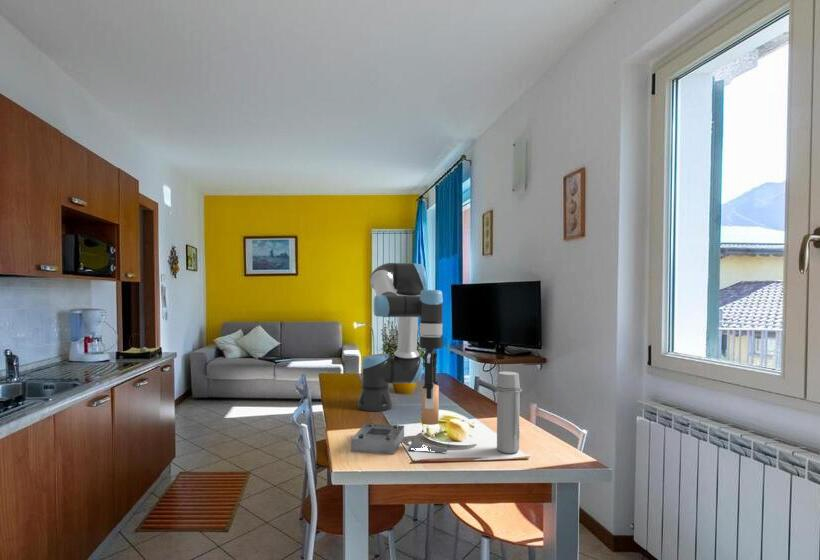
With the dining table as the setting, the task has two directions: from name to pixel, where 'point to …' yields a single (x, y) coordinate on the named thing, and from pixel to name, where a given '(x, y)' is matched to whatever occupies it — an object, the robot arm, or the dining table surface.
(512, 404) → the water bottle
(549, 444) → the dining table surface
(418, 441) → the pad
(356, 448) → the housing
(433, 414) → the tan cylinder
